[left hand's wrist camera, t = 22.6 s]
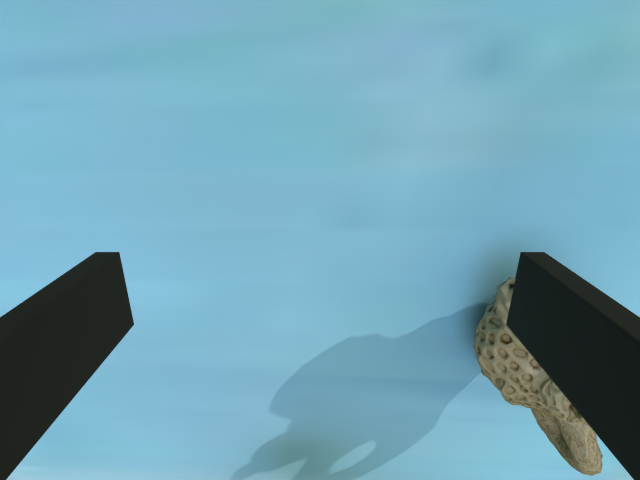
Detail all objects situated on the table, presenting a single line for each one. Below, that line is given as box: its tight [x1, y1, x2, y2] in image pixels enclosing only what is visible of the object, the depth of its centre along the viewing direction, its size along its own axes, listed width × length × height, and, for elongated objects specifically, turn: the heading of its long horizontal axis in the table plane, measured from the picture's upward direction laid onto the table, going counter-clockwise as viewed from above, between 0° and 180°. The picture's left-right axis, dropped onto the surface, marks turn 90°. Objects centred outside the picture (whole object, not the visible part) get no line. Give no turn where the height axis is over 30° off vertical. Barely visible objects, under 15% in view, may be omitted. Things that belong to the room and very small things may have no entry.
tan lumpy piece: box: [474, 277, 603, 476], centre depth 38 cm, size 21×12×15 cm, turn 24°
